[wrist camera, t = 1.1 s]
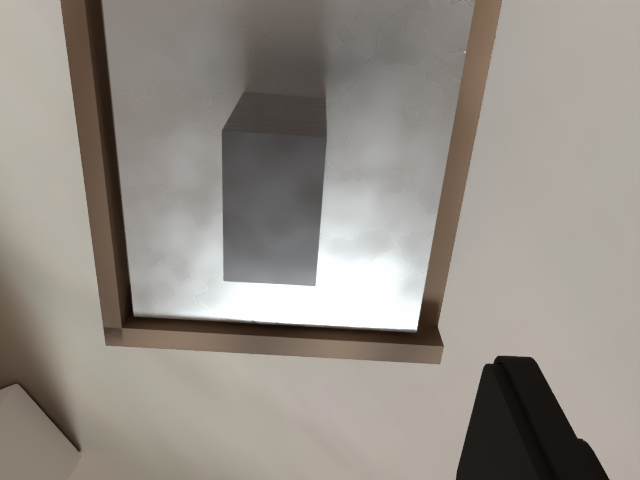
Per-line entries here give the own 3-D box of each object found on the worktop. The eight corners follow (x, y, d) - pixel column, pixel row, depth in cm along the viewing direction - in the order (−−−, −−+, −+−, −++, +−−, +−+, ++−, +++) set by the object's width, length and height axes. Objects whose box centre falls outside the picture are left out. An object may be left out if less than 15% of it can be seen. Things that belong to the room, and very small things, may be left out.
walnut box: (476, -84, 24) (536, -98, 17) (415, 278, 32) (440, 364, 25) (122, -112, 24) (42, -137, 17) (151, 262, 32) (105, 345, 25)
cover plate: (477, -53, 19) (537, -55, 14) (413, 319, 26) (436, 414, 21) (104, -82, 19) (18, -95, 13) (140, 304, 26) (92, 395, 20)
